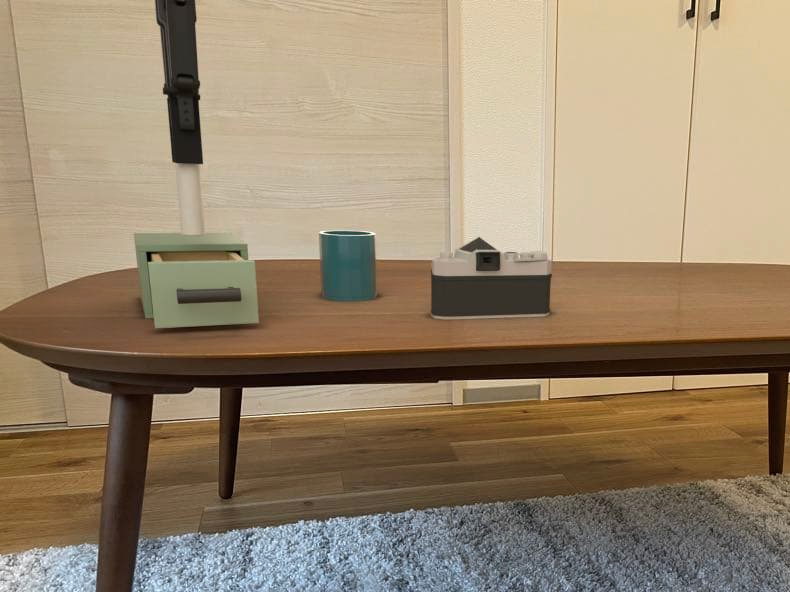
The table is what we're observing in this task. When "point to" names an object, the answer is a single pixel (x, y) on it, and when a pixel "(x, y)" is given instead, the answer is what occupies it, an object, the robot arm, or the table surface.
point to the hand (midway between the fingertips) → (187, 162)
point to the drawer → (202, 289)
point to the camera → (489, 283)
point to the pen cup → (348, 265)
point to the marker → (190, 198)
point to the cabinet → (178, 243)
